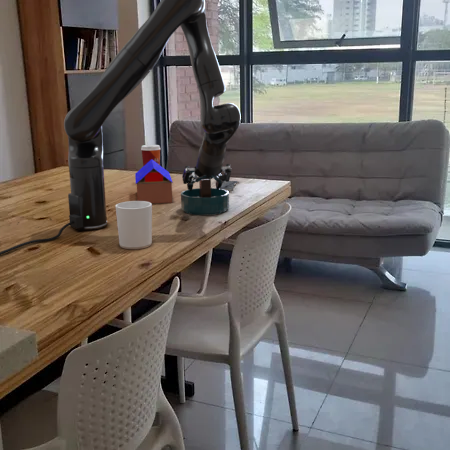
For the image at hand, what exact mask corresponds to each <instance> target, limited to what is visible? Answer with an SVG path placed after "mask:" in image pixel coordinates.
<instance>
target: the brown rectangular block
mask: <svg viewBox="0 0 450 450" xmlns="http://www.w3.org/2000/svg"><path fill="white" fill-rule="evenodd" d="M198 183H199V187H198V188H200V197H211V188H212V179H202V180H200V181H199V182H198Z"/></svg>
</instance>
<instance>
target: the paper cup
mask: <svg viewBox="0 0 450 450" xmlns="http://www.w3.org/2000/svg"><path fill="white" fill-rule="evenodd" d="M161 149H162V148H161V146H160V145H159V144H144V145H141V148H140V150H141V159H142V167H143V166H144V165H146V164H147V163H148V162H149V161H150V160H151V159H152V160H154V161H155V162H156V163H158V164H159V165H160V166H161V163H160V162H161Z"/></svg>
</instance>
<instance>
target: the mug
mask: <svg viewBox="0 0 450 450" xmlns="http://www.w3.org/2000/svg"><path fill="white" fill-rule="evenodd" d="M115 215H116V225H117V232H118V243H119V247H120V248H122V249H125V250H142V249H146V248H149V247H151V245H152V244H153V240H152V239H153V203H150V202H146V201H137V200H128V201H122V202H119V203H116V204H115Z"/></svg>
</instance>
